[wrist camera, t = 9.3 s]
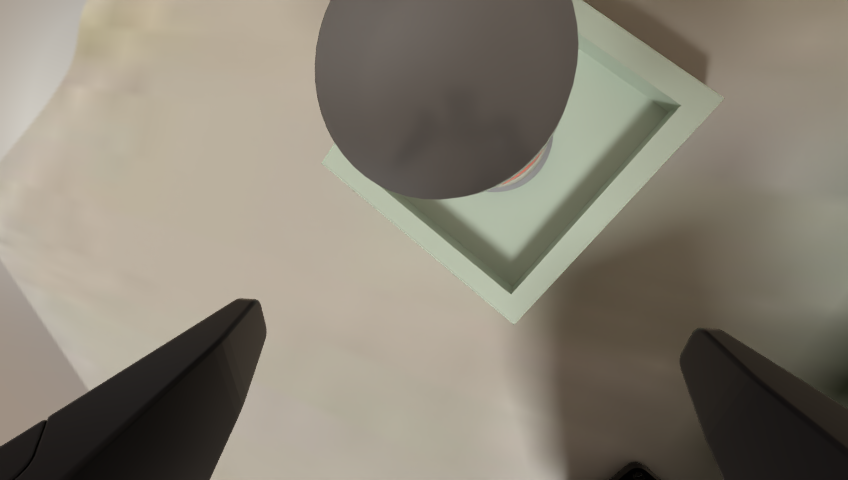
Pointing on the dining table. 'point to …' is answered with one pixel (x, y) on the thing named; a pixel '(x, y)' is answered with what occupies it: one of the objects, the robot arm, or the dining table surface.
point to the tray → (558, 172)
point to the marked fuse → (446, 90)
